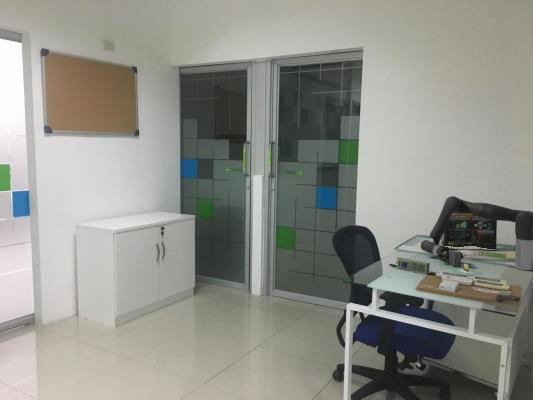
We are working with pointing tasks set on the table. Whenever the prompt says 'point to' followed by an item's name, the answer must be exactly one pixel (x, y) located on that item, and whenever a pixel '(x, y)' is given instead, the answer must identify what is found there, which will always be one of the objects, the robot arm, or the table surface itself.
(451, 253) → the block
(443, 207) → the robot arm
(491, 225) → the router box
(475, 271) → the pale green flat block
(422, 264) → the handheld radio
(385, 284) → the table surface
